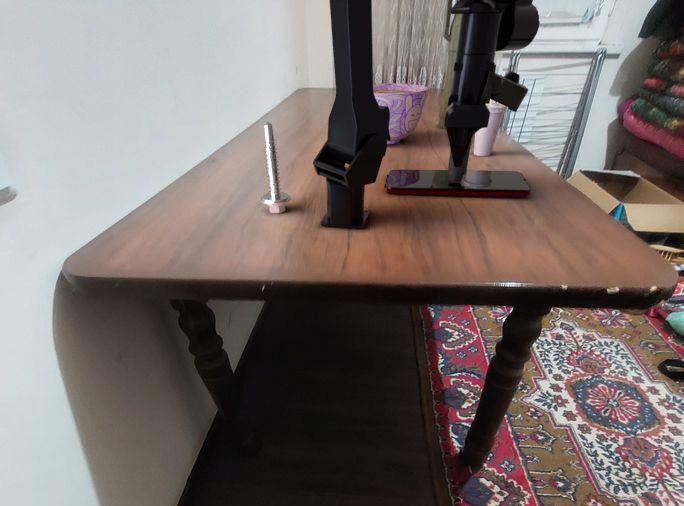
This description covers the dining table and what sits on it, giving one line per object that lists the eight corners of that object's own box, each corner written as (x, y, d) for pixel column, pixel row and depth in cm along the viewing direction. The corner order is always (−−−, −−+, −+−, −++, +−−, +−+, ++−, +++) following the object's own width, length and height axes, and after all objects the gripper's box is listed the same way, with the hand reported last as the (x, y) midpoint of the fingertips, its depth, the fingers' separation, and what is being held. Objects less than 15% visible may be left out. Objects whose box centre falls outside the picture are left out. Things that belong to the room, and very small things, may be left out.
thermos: (428, 124, 120) (447, -39, 98) (467, 122, 121) (494, -39, 99) (437, 130, 113) (459, -43, 91) (478, 128, 114) (510, -44, 92)
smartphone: (388, 167, 80) (520, 169, 76) (387, 176, 81) (518, 178, 77) (383, 187, 71) (534, 190, 67) (383, 196, 72) (531, 199, 68)
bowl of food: (429, 149, 96) (435, 92, 89) (345, 150, 97) (345, 94, 90) (417, 132, 112) (422, 82, 105) (345, 133, 113) (345, 84, 105)
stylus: (465, 182, 70) (475, 124, 65) (445, 181, 71) (454, 123, 65) (465, 176, 73) (474, 120, 67) (446, 176, 74) (454, 120, 68)
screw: (266, 217, 64) (259, 208, 68) (295, 213, 66) (287, 204, 69) (254, 126, 56) (247, 120, 60) (288, 123, 57) (279, 117, 61)
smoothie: (491, 150, 95) (506, 78, 86) (500, 157, 90) (517, 82, 81) (464, 151, 95) (476, 79, 86) (472, 158, 90) (486, 83, 81)
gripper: (542, 57, 52) (511, 182, 62) (525, 49, 66) (502, 152, 76) (453, 58, 54) (436, 179, 64) (455, 50, 68) (441, 150, 78)
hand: (457, 164), depth 70 cm, fingers closed on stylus, 3 cm apart
